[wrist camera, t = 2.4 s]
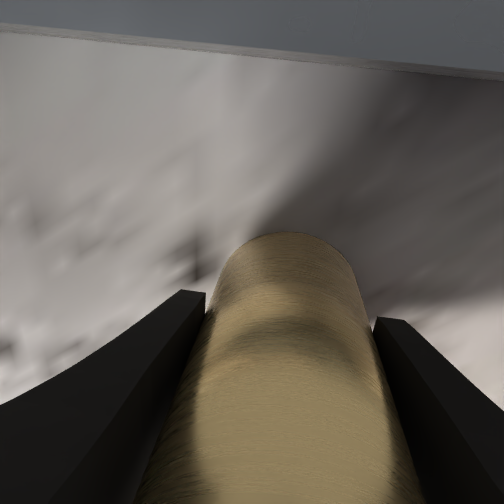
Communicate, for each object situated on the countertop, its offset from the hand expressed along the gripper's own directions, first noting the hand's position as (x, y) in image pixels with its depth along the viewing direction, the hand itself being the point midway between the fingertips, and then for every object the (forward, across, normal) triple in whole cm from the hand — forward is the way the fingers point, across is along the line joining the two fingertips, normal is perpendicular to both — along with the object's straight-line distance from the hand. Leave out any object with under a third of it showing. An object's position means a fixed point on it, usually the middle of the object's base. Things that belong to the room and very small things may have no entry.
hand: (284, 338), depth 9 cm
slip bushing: (+2, 0, 0) cm, 2 cm away
